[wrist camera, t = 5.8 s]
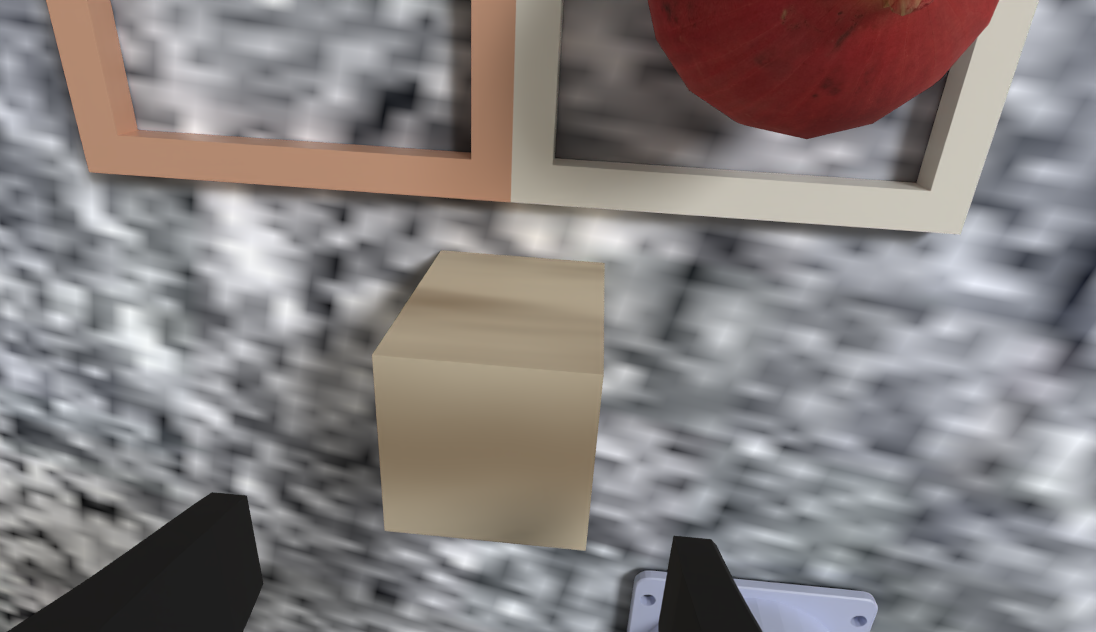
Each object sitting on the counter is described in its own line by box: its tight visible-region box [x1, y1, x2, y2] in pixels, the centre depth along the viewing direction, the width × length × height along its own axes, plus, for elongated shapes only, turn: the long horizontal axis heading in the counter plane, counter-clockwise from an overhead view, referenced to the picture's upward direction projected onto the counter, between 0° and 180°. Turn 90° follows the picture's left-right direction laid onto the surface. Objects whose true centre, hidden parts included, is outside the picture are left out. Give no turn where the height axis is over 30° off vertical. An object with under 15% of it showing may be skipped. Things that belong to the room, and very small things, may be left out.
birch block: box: [372, 251, 604, 551], centre depth 16 cm, size 4×4×6 cm
